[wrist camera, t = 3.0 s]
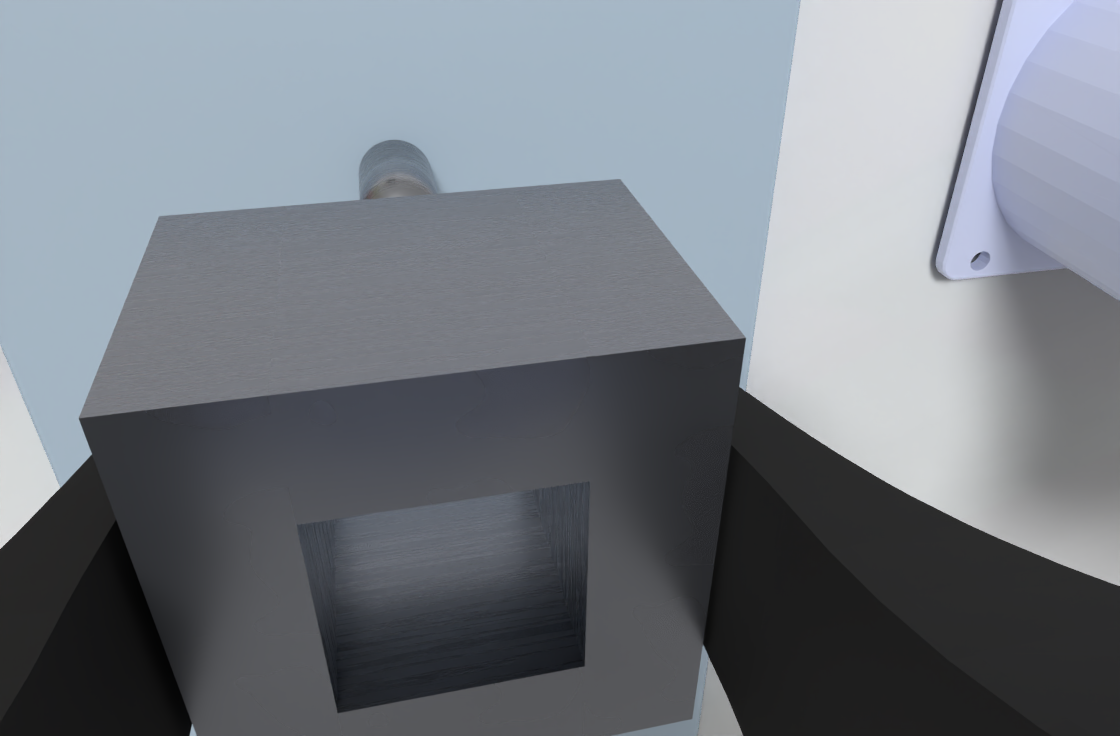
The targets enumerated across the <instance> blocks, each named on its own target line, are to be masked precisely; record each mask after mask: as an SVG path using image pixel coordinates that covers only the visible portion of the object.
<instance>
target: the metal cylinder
mask: <svg viewBox="0 0 1120 736" xmlns="http://www.w3.org/2000/svg"><path fill="white" fill-rule="evenodd" d="M427 194H437V191H436V187H435V183H434V179H433V174H432V170H431V166H430V163H429V161H428V159H427V157H426V156H425V154H424V153H423V152H422V151H421V150H420V149H419V148H417V147H416V146H415V145H413V144H411V143H409V142H406V141H402V140H386V141H383V142H380V143H378V144H376V145H374V146H373V147H371V148H370V149H369V150H368V151H367V152H366V153H365V155H364V156H363V158H362V160H361V163H360V166H359V196H360V200H365V199H378V198H390V197H402V196H415V195H427Z"/></svg>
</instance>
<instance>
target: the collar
mask: <svg viewBox="0 0 1120 736" xmlns="http://www.w3.org/2000/svg"><path fill="white" fill-rule="evenodd" d="M745 343H746V337H745V336H744V335H743V333H742V332H741V331H740V329H739V328H738V327H737V326H736V324H735V323H734V322H733V321H732V319H731V318H730V317H729V316H728V314H727V313H726V312H725V311H724V309H723V308H722V307H721V306H720V304H719V303H718V302H717V300H716V299H715V298H714V297H713V295H712V294H711V293H710V292H709V290H708V289H707V288H706V287H705V285H704V284H703V283H702V282H701V280H700V279H699V278H698V277H697V275H696V274H695V273H694V271H693V270H692V269H691V268H690V266H689V265H688V264H687V263H686V261H685V260H684V259H683V258H682V256H681V255H680V254H679V253H678V251H677V250H676V249H675V248H674V246H673V245H672V244H671V242H670V241H669V240H668V239H667V237H666V236H665V235H664V234H663V232H662V231H661V230H660V229H659V227H658V226H657V225H656V224H655V222H654V221H653V220H652V219H651V217H650V216H649V215H648V213H647V212H646V211H645V210H644V208H643V207H642V206H641V205H640V203H639V202H638V201H637V200H636V198H635V197H634V196H633V195H632V193H631V192H630V191H629V190H628V188H627V187H626V186H625V184H624V183H623V182H622V181H621V179H613V180H600V181H588V182H576V183H563V184H551V185H538V186H526V187H514V188H501V189H489V190H477V191H464V192H452V193H439V194H427V195H415V196H402V197H390V198H378V199H365V200H353V201H340V202H328V203H316V204H303V205H291V206H279V207H266V208H254V209H241V210H229V211H217V212H204V213H192V214H180V215H167V216H159V218H158V220H157V223H156V225H155V228H154V230H153V233H152V235H151V238H150V240H149V243H148V245H147V248H146V250H145V253H144V255H143V258H142V260H141V263H140V265H139V268H138V270H137V273H136V275H135V278H134V280H133V283H132V285H131V288H130V290H129V293H128V295H127V298H126V300H125V303H124V306H123V308H122V311H121V313H120V316H119V318H118V321H117V323H116V326H115V328H114V331H113V333H112V336H111V338H110V341H109V343H108V346H107V348H106V351H105V353H104V356H103V358H102V361H101V363H100V366H99V368H98V371H97V373H96V376H95V378H94V381H93V383H92V386H91V388H90V391H89V393H88V396H87V398H86V401H85V403H84V406H83V408H82V411H81V413H80V416H79V421H80V424H81V426H82V429H83V432H84V434H85V437H86V440H87V442H88V445H89V448H90V450H91V453H92V456H93V458H94V461H95V464H96V467H97V469H98V472H99V475H100V477H101V480H102V483H103V485H104V488H105V491H106V493H107V496H108V499H109V501H110V504H111V507H112V510H113V512H114V515H115V518H116V520H117V523H118V526H119V528H120V531H121V534H122V536H123V539H124V542H125V544H126V547H127V550H128V552H129V555H130V558H131V561H132V563H133V566H134V569H135V571H136V574H137V577H138V579H139V582H140V585H141V587H142V590H143V593H144V595H145V598H146V601H147V604H148V606H149V609H150V612H151V614H152V617H153V620H154V622H155V625H156V628H157V630H158V633H159V636H160V638H161V641H162V644H163V647H164V649H165V652H166V655H167V657H168V660H169V663H170V665H171V668H172V671H173V673H174V676H175V679H176V681H177V684H178V687H179V689H180V692H181V695H182V698H183V700H184V703H185V706H186V708H187V711H188V714H189V716H190V719H191V722H192V724H193V727H194V730H195V732H196V735H197V736H613V735H618V734H623V733H627V732H632V731H637V730H642V729H647V728H652V727H656V726H661V725H666V724H671V723H676V722H680V721H685V720H690V719H692V718H693V711H694V704H695V697H696V690H697V683H698V675H699V668H700V661H701V654H702V647H703V640H704V633H705V626H706V619H707V612H708V605H709V598H710V590H711V583H712V576H713V569H714V562H715V555H716V548H717V541H718V534H719V527H720V520H721V513H722V505H723V498H724V491H725V484H726V477H727V470H728V463H729V456H730V449H731V442H732V435H733V428H734V420H735V413H736V406H737V399H738V392H739V385H740V378H741V371H742V364H743V357H744V350H745Z"/></svg>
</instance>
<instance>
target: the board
mask: <svg viewBox="0 0 1120 736" xmlns="http://www.w3.org/2000/svg"><path fill="white" fill-rule="evenodd" d="M799 8H800V0H0V345H1V348H2V350H3V352H4V355H5V357H6V359H7V362H8V364H9V367H10V369H11V371H12V374H13V376H14V378H15V381H16V383H17V386H18V388H19V390H20V393H21V395H22V397H23V400H24V402H25V405H26V407H27V409H28V412H29V414H30V416H31V419H32V421H33V424H34V426H35V428H36V431H37V433H38V435H39V438H40V440H41V443H42V445H43V447H44V450H45V452H46V454H47V457H48V459H49V462H50V464H51V466H52V469H53V471H54V473H55V476H56V478H57V481H58V483H59V485H60V488H61V487H62V486H63V485H64V484H65V483H66V482H67V480H68V479H69V478H70V477H71V476H72V475H73V474H74V473H75V472H76V471H77V470H78V469H79V468H80V467H81V465H82V464H83V463H84V462H85V461H86V460H87V459H88V458H89V457H90V456H91V455H92V453H91V450H90V448H89V445H88V442H87V440H86V437H85V434H84V432H83V429H82V426H81V424H80V421H79V416H80V413H81V411H82V408H83V406H84V403H85V401H86V398H87V396H88V393H89V391H90V388H91V386H92V383H93V381H94V378H95V376H96V373H97V371H98V368H99V366H100V363H101V361H102V358H103V356H104V353H105V351H106V348H107V346H108V343H109V341H110V338H111V336H112V333H113V331H114V328H115V326H116V323H117V321H118V318H119V316H120V313H121V311H122V308H123V306H124V303H125V300H126V298H127V295H128V293H129V290H130V288H131V285H132V283H133V280H134V278H135V275H136V273H137V270H138V268H139V265H140V263H141V260H142V258H143V255H144V253H145V250H146V248H147V245H148V243H149V240H150V238H151V235H152V233H153V230H154V228H155V225H156V223H157V220H158V218H159V216H167V215H180V214H192V213H204V212H217V211H229V210H241V209H254V208H266V207H279V206H291V205H303V204H316V203H328V202H340V201H353V200H360V196H359V166H360V163H361V160H362V158H363V156H364V155H365V153H366V152H367V151H368V150H369V149H370V148H371V147H373V146H374V145H376V144H378V143H380V142H383V141H386V140H402V141H406V142H409V143H411V144H413V145H415V146H416V147H417V148H419V149H420V150H421V151H422V152H423V153H424V154H425V156H426V157H427V159H428V161H429V163H430V166H431V170H432V174H433V179H434V183H435V187H436V191H437V194H439V193H452V192H464V191H477V190H489V189H501V188H514V187H526V186H538V185H551V184H563V183H576V182H588V181H600V180H613V179H621V181H622V182H623V183H624V184H625V186H626V187H627V188H628V190H629V191H630V192H631V193H632V195H633V196H634V197H635V198H636V200H637V201H638V202H639V203H640V205H641V206H642V207H643V208H644V210H645V211H646V212H647V213H648V215H649V216H650V217H651V219H652V220H653V221H654V222H655V224H656V225H657V226H658V227H659V229H660V230H661V231H662V232H663V234H664V235H665V236H666V237H667V239H668V240H669V241H670V242H671V244H672V245H673V246H674V248H675V249H676V250H677V251H678V253H679V254H680V255H681V256H682V258H683V259H684V260H685V261H686V263H687V264H688V265H689V266H690V268H691V269H692V270H693V271H694V273H695V274H696V275H697V277H698V278H699V279H700V280H701V282H702V283H703V284H704V285H705V287H706V288H707V289H708V290H709V292H710V293H711V294H712V295H713V297H714V298H715V299H716V300H717V302H718V303H719V304H720V306H721V307H722V308H723V309H724V311H725V312H726V313H727V314H728V316H729V317H730V318H731V319H732V321H733V322H734V323H735V324H736V326H737V327H738V328H739V329H740V331H741V332H742V333H743V335H744V336H745V337H746V343H745V350H744V357H743V364H742V371H741V378H740V385H739V387H740V388H742V389H743V390H744V391H746V386H747V379H748V372H749V365H750V357H751V350H752V343H753V336H754V329H755V322H756V315H757V307H758V300H759V293H760V286H761V279H762V272H763V265H764V258H765V250H766V243H767V236H768V229H769V222H770V215H771V208H772V200H773V193H774V186H775V179H776V172H777V165H778V158H779V150H780V143H781V136H782V129H783V122H784V115H785V108H786V100H787V93H788V86H789V79H790V72H791V65H792V58H793V50H794V43H795V36H796V29H797V22H798V15H799ZM708 657H709V656H708V654H707V652H706V650H705V647H704V645H703V647H702V654H701V661H700V668H699V675H698V683H697V690H696V697H695V704H694V711H693V718H692V719H690V720H685V721H680V722H676V723H671V724H666V725H661V726H656V727H652V728H647V729H642V730H637V731H632V732H627V733H623V734H618V735H613V736H698V729H699V722H700V715H701V707H702V700H703V693H704V686H705V679H706V672H707V665H708ZM190 736H197V735H196V732H195V730H194V727H193V724H192V727H191V732H190Z"/></svg>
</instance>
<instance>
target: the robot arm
mask: <svg viewBox="0 0 1120 736" xmlns="http://www.w3.org/2000/svg"><path fill="white" fill-rule="evenodd" d="M980 252H981V253H980ZM978 253H980V255H979V257H978V258H977V259H976V260H975V261H974V262H972V263H971V261H972V259H973V257H974V256H975V255H976V254H978ZM936 268H937V270H938V271H939V272H940V273H941V274H943V275H944V276H945V277H947V278H948V279H950V280H962V279H971V278H981V277H990V276H999V275H1008V274H1018V273H1027V272H1036V271H1045V270H1055V269H1064V268H1069V269H1070V270H1072V271H1073V272H1075V273H1076V274H1078V275H1079V276H1081V277H1082V278H1084V279H1086V280H1087V281H1089V282H1090V283H1092V284H1093V285H1095V286H1096V287H1098V288H1100V289H1101V290H1103V291H1104V292H1106V293H1107V294H1109V295H1110V296H1112V297H1114V298H1115V299H1117V300H1118V301H1120V0H1003V4H1002V8H1001V11H1000V15H999V19H998V23H997V27H996V31H995V34H994V38H993V42H992V46H991V50H990V54H989V57H988V61H987V65H986V69H985V73H984V77H983V80H982V84H981V88H980V92H979V96H978V100H977V104H976V107H975V111H974V115H973V119H972V123H971V127H970V130H969V134H968V138H967V142H966V146H965V150H964V153H963V157H962V161H961V165H960V169H959V173H958V176H957V180H956V184H955V188H954V192H953V196H952V199H951V203H950V207H949V211H948V215H947V219H946V223H945V226H944V230H943V234H942V238H941V242H940V246H939V249H938V253H937V257H936ZM703 645H704V647H705V650H706V652H707V654H708V656H709V658H710V660H711V662H712V665H713V667H714V669H715V671H716V673H717V675H718V677H719V680H720V682H721V684H722V686H723V688H724V690H725V692H726V694H727V697H728V699H729V702H730V704H731V706H732V709H733V711H734V714H735V716H736V718H737V721H738V723H739V726H740V728H741V731H742V734H743V736H1120V586H1117V585H1114V584H1111V583H1108V582H1106V581H1103V580H1100V579H1098V578H1095V577H1092V576H1090V575H1087V574H1084V573H1082V572H1079V571H1076V570H1074V569H1071V568H1068V567H1066V566H1063V565H1061V564H1058V563H1056V562H1053V561H1051V560H1049V559H1046V558H1044V557H1041V556H1039V555H1037V554H1034V553H1032V552H1029V551H1027V550H1025V549H1022V548H1020V547H1017V546H1015V545H1013V544H1010V543H1008V542H1005V541H1003V540H1001V539H998V538H996V537H994V536H992V535H990V534H987V533H985V532H983V531H981V530H979V529H976V528H974V527H972V526H970V525H968V524H966V523H963V522H962V521H960V520H958V519H956V518H954V517H952V516H950V515H948V514H946V513H944V512H942V511H940V510H938V509H936V508H934V507H932V506H930V505H928V504H926V503H924V502H922V501H920V500H918V499H916V498H914V497H912V496H910V495H908V494H906V493H904V492H903V491H901V490H899V489H897V488H895V487H893V486H892V485H890V484H888V483H886V482H885V481H883V480H881V479H879V478H878V477H876V476H874V475H873V474H871V473H869V472H868V471H866V470H864V469H863V468H861V467H859V466H858V465H856V464H854V463H853V462H851V461H849V460H848V459H846V458H844V457H843V456H841V455H839V454H838V453H836V452H835V451H833V450H831V449H830V448H828V447H827V446H825V445H824V444H822V443H820V442H819V441H817V440H816V439H814V438H813V437H811V436H810V435H808V434H807V433H805V432H804V431H802V430H801V429H799V428H798V427H796V426H795V425H793V424H792V423H790V422H789V421H787V420H786V419H784V418H783V417H782V416H780V415H779V414H777V413H776V412H774V411H773V410H771V409H770V408H769V407H767V406H766V405H764V404H763V403H761V402H760V401H759V400H757V399H756V398H754V397H753V396H752V395H750V394H749V393H747V392H746V391H744V390H743V389H742V388H740V387H739V392H738V399H737V406H736V413H735V420H734V428H733V435H732V442H731V449H730V456H729V463H728V470H727V477H726V484H725V491H724V498H723V505H722V513H721V520H720V527H719V534H718V541H717V548H716V555H715V562H714V569H713V576H712V583H711V590H710V598H709V605H708V612H707V619H706V626H705V633H704V640H703ZM191 727H192V722H191V719H190V716H189V714H188V711H187V708H186V706H185V703H184V700H183V698H182V695H181V692H180V689H179V687H178V684H177V681H176V679H175V676H174V673H173V671H172V668H171V665H170V663H169V660H168V657H167V655H166V652H165V649H164V647H163V644H162V641H161V638H160V636H159V633H158V630H157V628H156V625H155V622H154V620H153V617H152V614H151V612H150V609H149V606H148V604H147V601H146V598H145V595H144V593H143V590H142V587H141V585H140V582H139V579H138V577H137V574H136V571H135V569H134V566H133V563H132V561H131V558H130V555H129V552H128V550H127V547H126V544H125V542H124V539H123V536H122V534H121V531H120V528H119V526H118V523H117V520H116V518H115V515H114V512H113V510H112V507H111V504H110V501H109V499H108V496H107V493H106V491H105V488H104V485H103V483H102V480H101V477H100V475H99V472H98V469H97V467H96V464H95V461H94V458H93V456H92V455H91V456H90V457H89V458H88V459H87V460H86V461H85V462H84V463H83V464H82V465H81V467H80V468H79V469H78V470H77V471H76V472H75V473H74V474H73V475H72V476H71V477H70V478H69V479H68V480H67V482H66V483H65V484H64V485H63V486H62V487H61V488H60V489H59V490H58V491H57V492H56V493H55V494H54V495H53V496H52V497H51V498H50V499H49V500H48V501H47V502H46V503H45V504H44V505H43V507H42V508H41V509H40V510H39V511H38V512H37V513H36V514H35V515H34V516H33V517H32V518H31V519H30V520H29V521H28V522H27V523H26V524H25V525H24V526H23V527H22V528H21V529H20V530H19V531H18V532H17V533H16V534H15V535H14V536H13V537H12V538H11V539H10V540H9V541H8V542H7V543H6V544H5V545H4V546H3V547H2V548H1V549H0V736H190V732H191Z"/></svg>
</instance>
